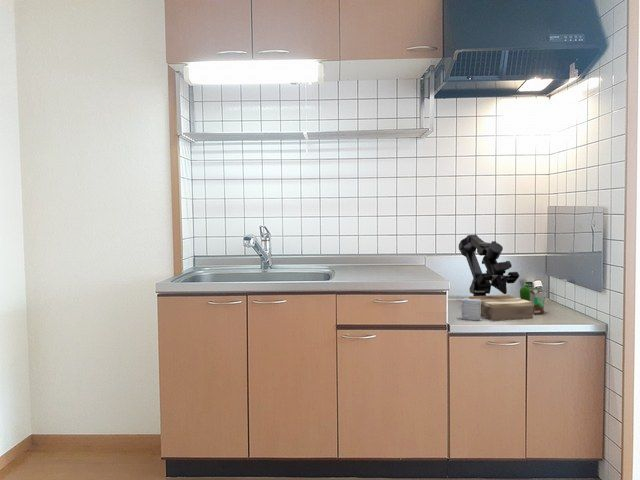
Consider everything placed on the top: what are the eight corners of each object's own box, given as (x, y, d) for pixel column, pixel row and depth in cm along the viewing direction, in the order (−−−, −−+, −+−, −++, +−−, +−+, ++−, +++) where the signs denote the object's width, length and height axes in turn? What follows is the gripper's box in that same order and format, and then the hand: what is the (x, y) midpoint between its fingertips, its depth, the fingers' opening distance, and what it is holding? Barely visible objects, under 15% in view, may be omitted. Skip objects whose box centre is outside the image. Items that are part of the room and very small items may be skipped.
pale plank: (477, 302, 235) (477, 299, 234) (516, 300, 239) (516, 297, 239) (492, 308, 223) (492, 304, 223) (532, 305, 228) (532, 302, 228)
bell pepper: (534, 302, 263) (534, 282, 262) (539, 305, 255) (539, 285, 254) (517, 301, 264) (517, 282, 263) (521, 305, 256) (522, 285, 255)
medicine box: (480, 318, 227) (481, 299, 227) (480, 320, 223) (480, 301, 222) (462, 317, 230) (462, 298, 229) (461, 319, 226) (461, 300, 225)
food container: (548, 315, 233) (549, 293, 232) (534, 315, 234) (534, 293, 233) (542, 309, 245) (543, 288, 244) (529, 309, 246) (529, 288, 245)
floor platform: (468, 311, 242) (468, 296, 242) (506, 308, 247) (506, 294, 246) (492, 320, 223) (492, 304, 222) (533, 318, 228) (533, 302, 227)
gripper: (481, 255, 232) (494, 284, 222) (517, 254, 236) (532, 282, 226) (471, 270, 240) (484, 298, 230) (507, 268, 244) (520, 296, 235)
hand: (505, 293), depth 230 cm, fingers closed
